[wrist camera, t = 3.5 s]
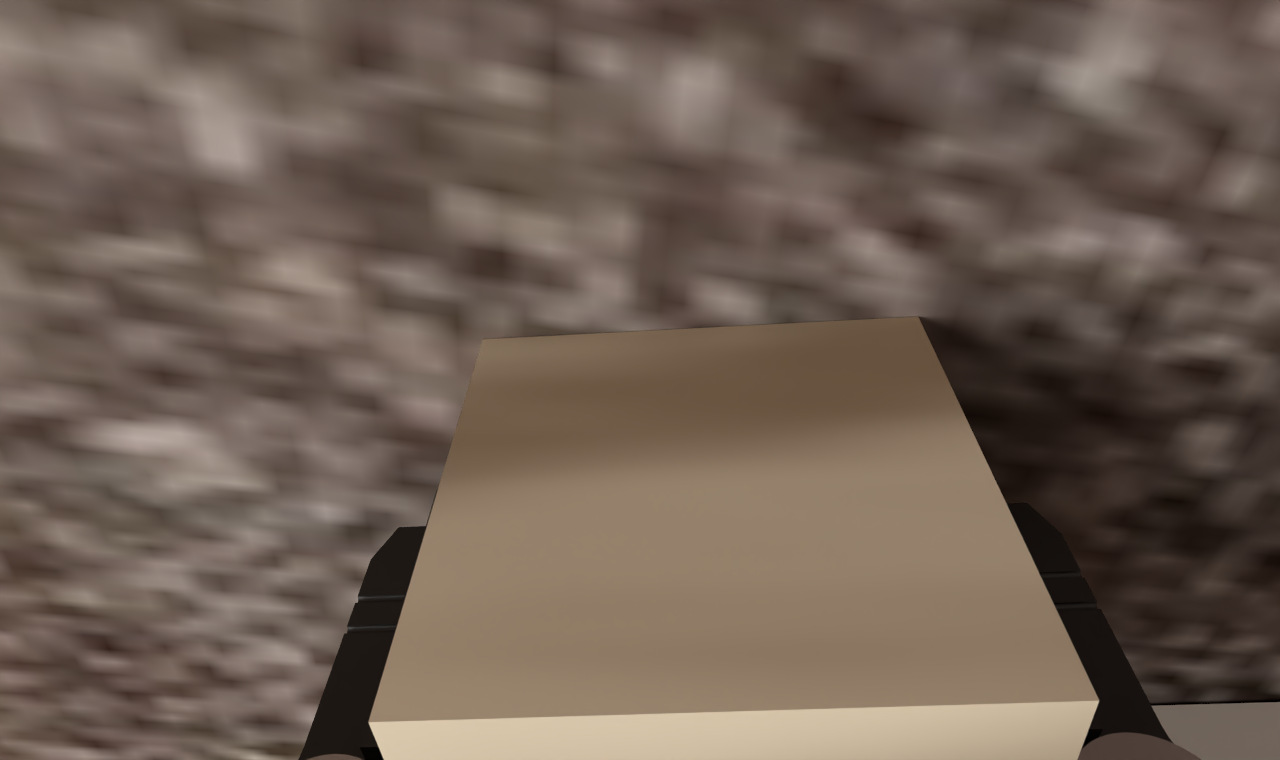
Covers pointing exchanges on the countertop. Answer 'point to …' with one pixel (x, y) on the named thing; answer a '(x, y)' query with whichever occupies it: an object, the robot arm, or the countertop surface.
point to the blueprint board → (1224, 729)
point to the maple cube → (725, 562)
